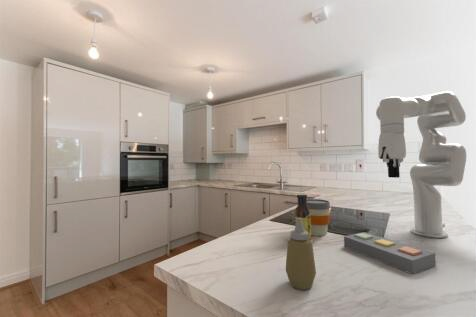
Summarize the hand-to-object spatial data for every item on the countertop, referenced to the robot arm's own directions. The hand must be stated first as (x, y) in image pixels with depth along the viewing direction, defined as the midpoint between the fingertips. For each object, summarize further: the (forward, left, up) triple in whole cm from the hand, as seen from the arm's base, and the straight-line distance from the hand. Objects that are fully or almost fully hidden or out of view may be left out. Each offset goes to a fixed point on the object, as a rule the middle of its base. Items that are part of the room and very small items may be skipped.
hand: (393, 177), depth 84 cm
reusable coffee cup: (+13, -28, -27) cm, 41 cm away
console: (+10, +2, -27) cm, 29 cm away
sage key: (+10, -6, -25) cm, 27 cm away
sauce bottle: (+26, -22, -27) cm, 44 cm away
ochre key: (+10, +2, -25) cm, 27 cm away
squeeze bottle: (+49, +4, -27) cm, 56 cm away
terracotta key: (+10, +10, -25) cm, 28 cm away
